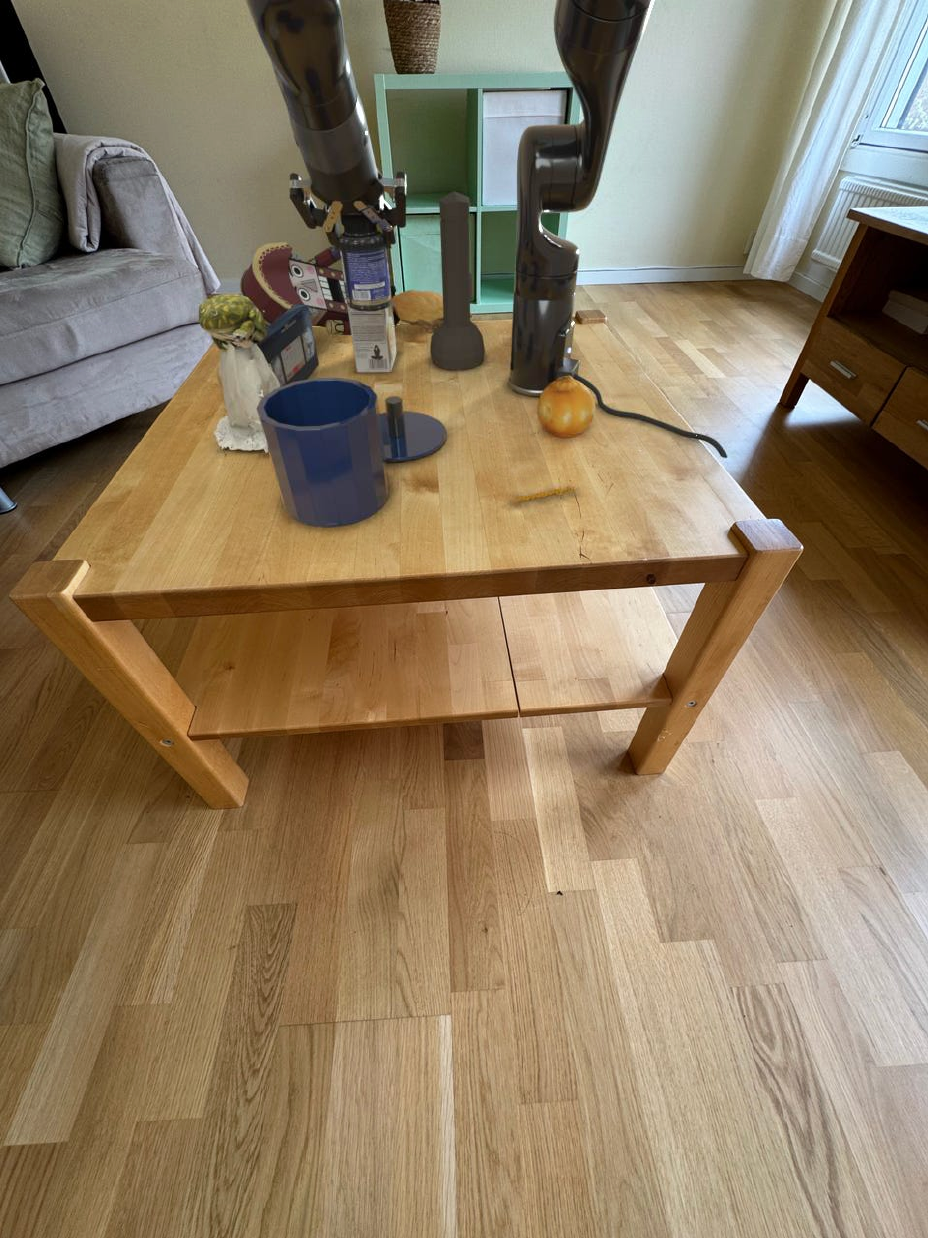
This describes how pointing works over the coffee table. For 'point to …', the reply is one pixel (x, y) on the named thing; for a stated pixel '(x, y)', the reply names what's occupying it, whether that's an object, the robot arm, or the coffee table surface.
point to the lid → (408, 432)
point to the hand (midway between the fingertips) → (364, 242)
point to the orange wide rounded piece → (420, 308)
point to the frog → (239, 368)
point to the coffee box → (373, 338)
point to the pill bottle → (364, 264)
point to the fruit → (565, 407)
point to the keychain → (544, 494)
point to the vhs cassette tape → (291, 346)
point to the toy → (299, 286)
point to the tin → (326, 450)
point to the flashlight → (456, 291)
